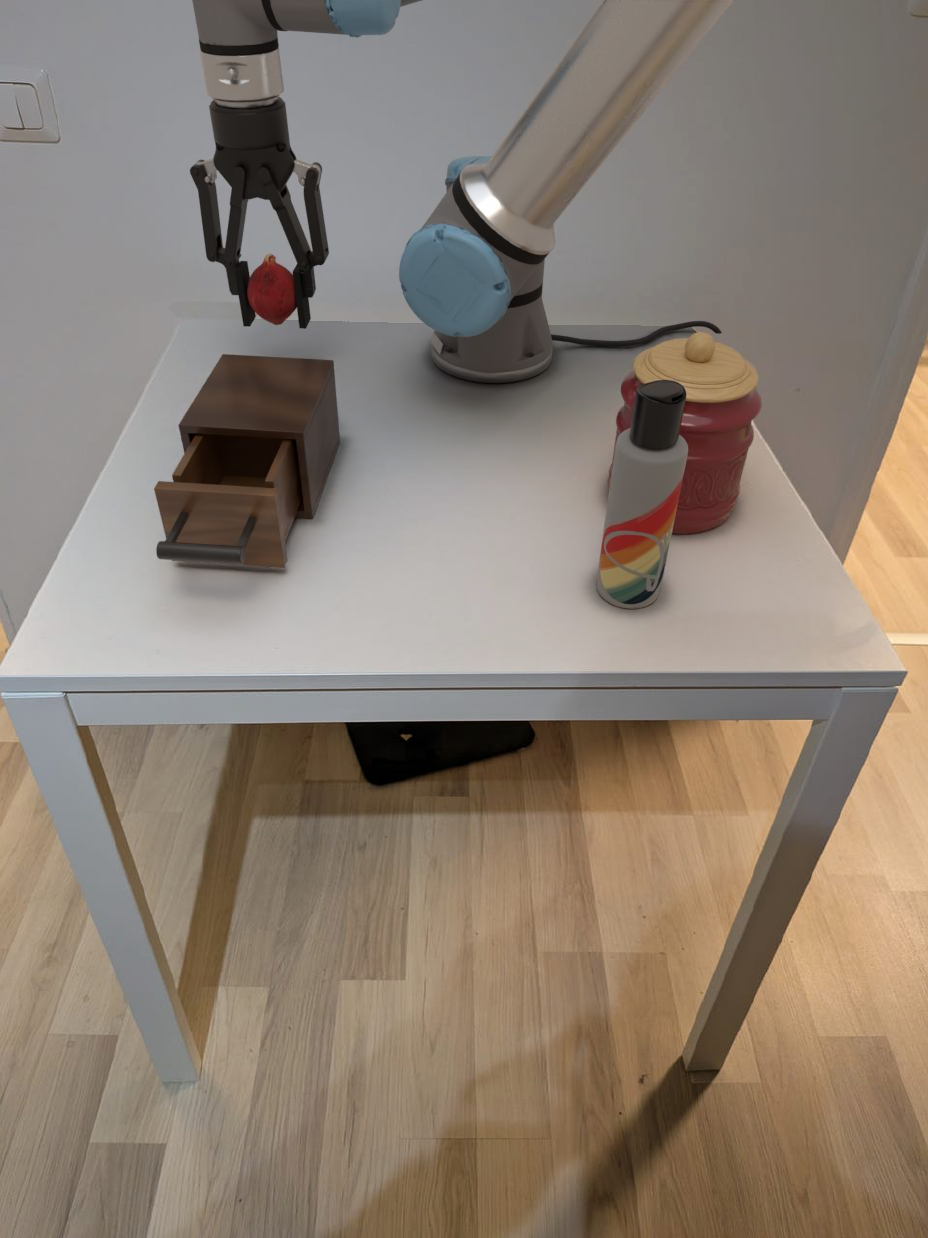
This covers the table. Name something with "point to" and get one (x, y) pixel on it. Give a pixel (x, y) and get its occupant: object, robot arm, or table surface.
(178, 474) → the drawer
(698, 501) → the kitchen canister
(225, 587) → the table surface
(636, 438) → the lotion bottle
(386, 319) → the table surface
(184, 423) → the cabinet
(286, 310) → the red pomegranate
